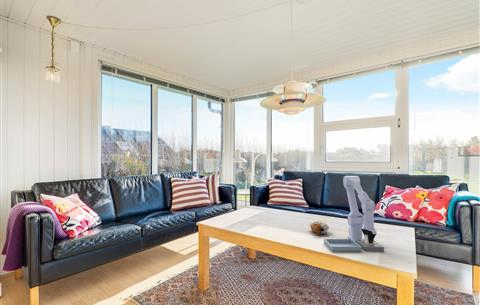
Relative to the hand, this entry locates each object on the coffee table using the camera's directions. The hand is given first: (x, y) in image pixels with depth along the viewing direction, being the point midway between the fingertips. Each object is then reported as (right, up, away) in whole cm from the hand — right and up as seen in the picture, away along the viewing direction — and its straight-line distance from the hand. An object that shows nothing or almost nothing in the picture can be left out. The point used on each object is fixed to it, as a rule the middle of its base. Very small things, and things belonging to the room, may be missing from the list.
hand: (368, 242), depth 151 cm
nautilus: (-23, -5, +29) cm, 37 cm away
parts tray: (-17, -4, 0) cm, 17 cm away
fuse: (0, -3, 0) cm, 3 cm away
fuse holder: (0, -3, 0) cm, 3 cm away
